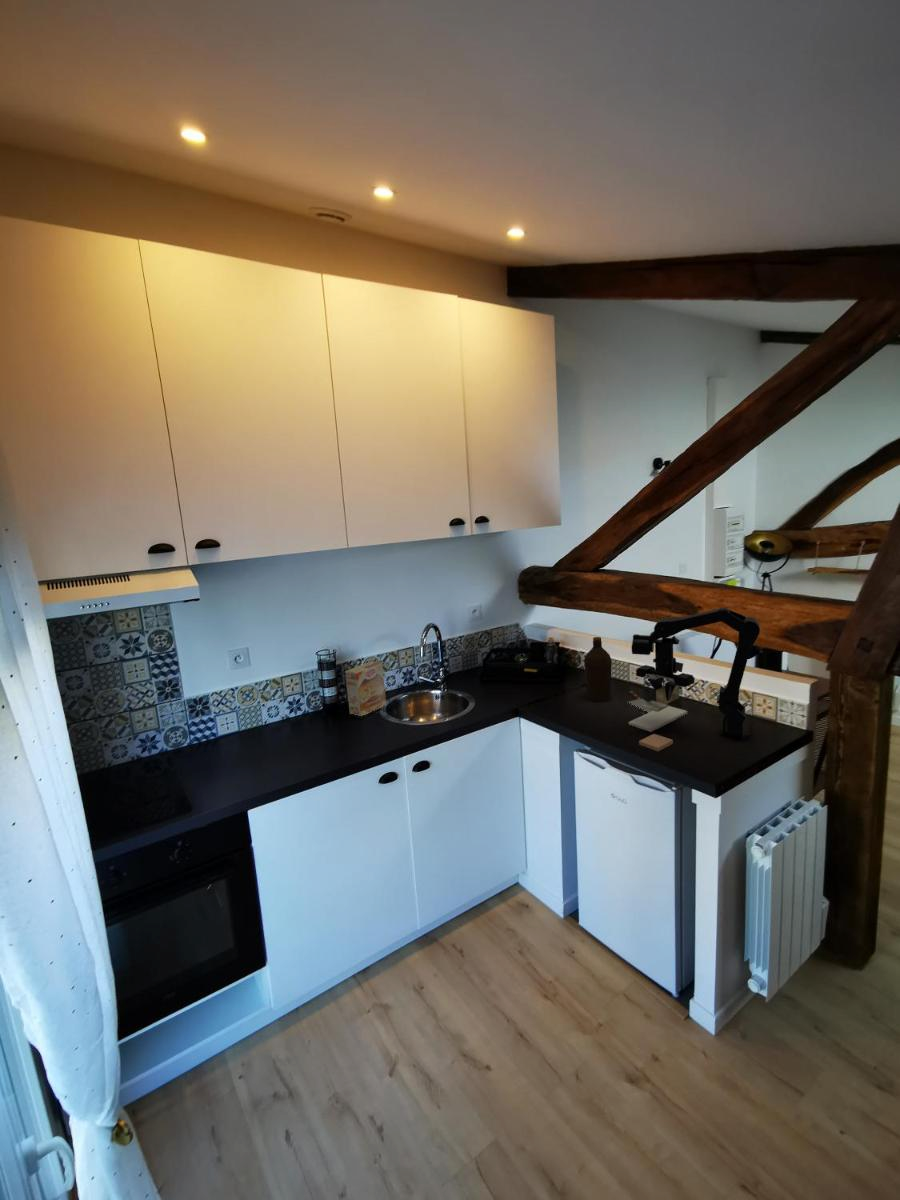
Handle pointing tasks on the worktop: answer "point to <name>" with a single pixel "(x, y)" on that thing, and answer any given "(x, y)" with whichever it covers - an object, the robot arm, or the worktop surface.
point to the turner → (661, 700)
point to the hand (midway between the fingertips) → (664, 699)
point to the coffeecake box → (365, 688)
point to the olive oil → (598, 672)
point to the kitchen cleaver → (638, 701)
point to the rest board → (657, 718)
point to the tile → (655, 742)
